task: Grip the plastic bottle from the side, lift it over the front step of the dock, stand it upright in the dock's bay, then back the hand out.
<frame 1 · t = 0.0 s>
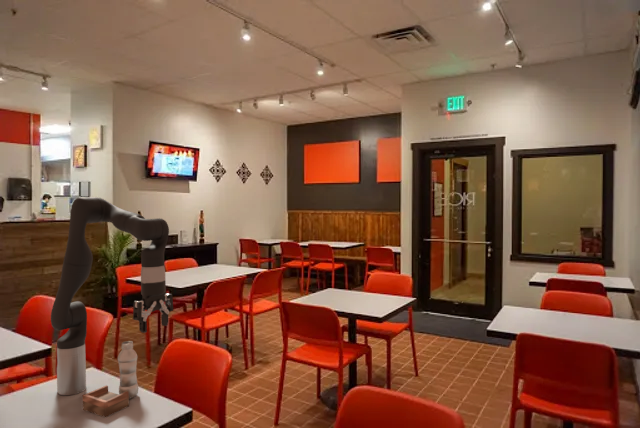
hand: (154, 328, 144), 29 cm above the table, tool pointing down, fingers open, 8 cm apart
dock: (106, 407, 152), on the table
plastic bottle: (128, 397, 160), on the table
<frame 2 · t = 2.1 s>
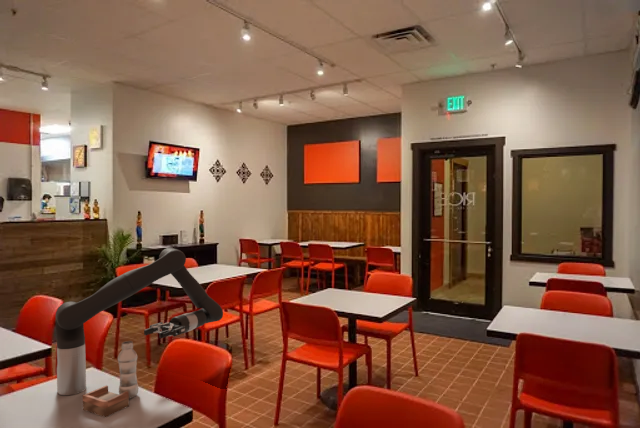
hand: (152, 334, 169), 20 cm above the table, tool horizontal, fingers open, 8 cm apart
nothing on the table moved.
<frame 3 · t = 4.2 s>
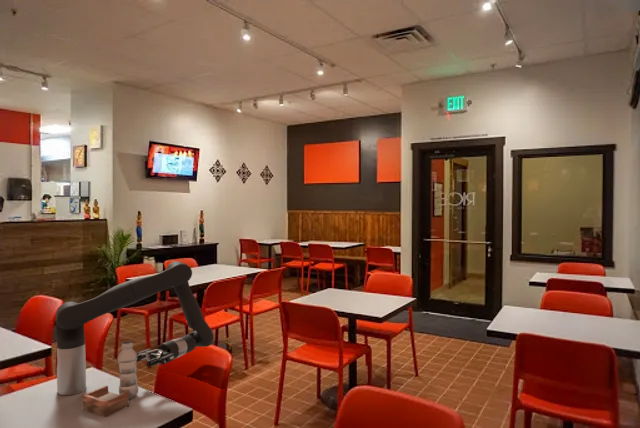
hand: (139, 362, 164), 11 cm above the table, tool horizontal, fingers open, 8 cm apart
nothing on the table moved.
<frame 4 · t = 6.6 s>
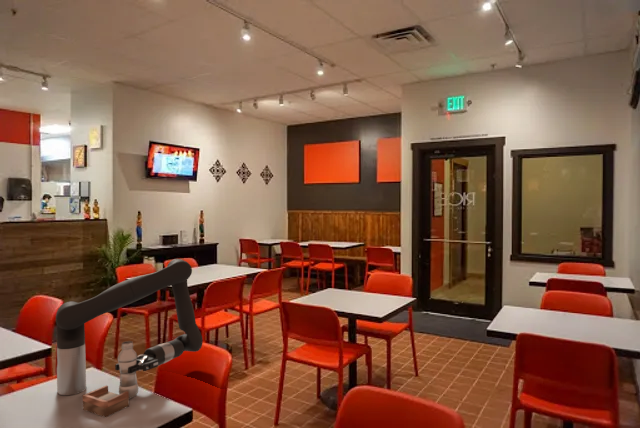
hand: (122, 369, 157), 11 cm above the table, tool horizontal, fingers closed on plastic bottle, 6 cm apart
plastic bottle: (128, 397, 160), on the table, touching gripper
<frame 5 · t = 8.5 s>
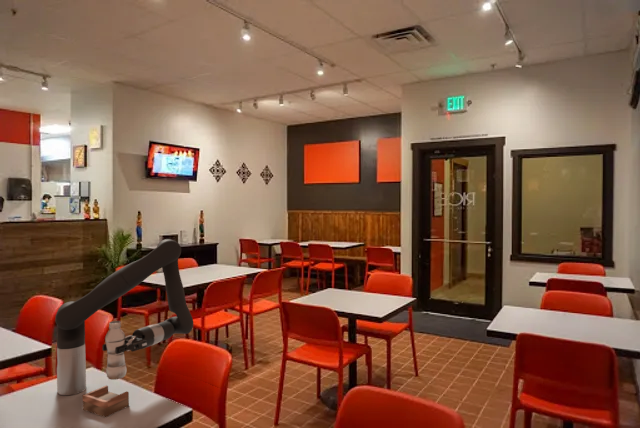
hand: (109, 349, 153), 20 cm above the table, tool horizontal, fingers closed on plastic bottle, 6 cm apart
plastic bottle: (116, 378, 155), point 8 cm above the table, touching gripper
when the fingers open (15 cm above the table, at t = 10.9 s): plastic bottle stays where it is, resting on dock.
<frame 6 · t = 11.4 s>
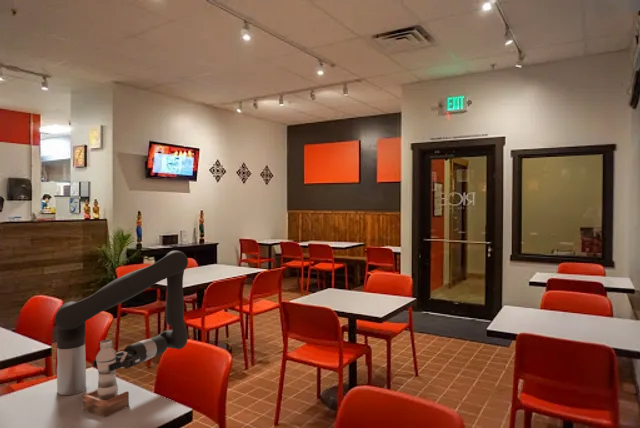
hand: (101, 366, 150), 15 cm above the table, tool horizontal, fingers open, 8 cm apart
plastic bottle: (107, 399, 152), point 3 cm above the table, touching dock
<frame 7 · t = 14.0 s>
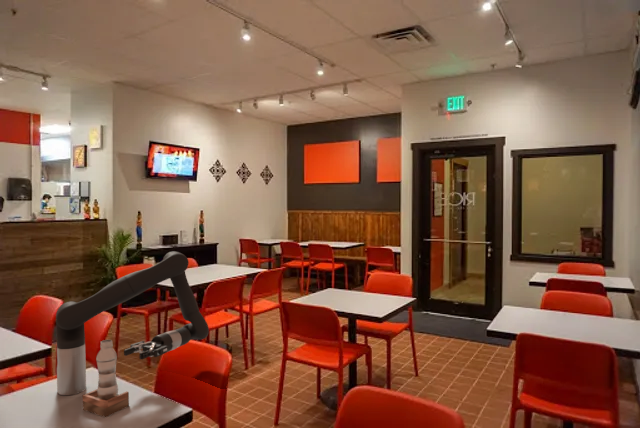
hand: (132, 354, 161), 15 cm above the table, tool horizontal, fingers open, 8 cm apart
nothing on the table moved.
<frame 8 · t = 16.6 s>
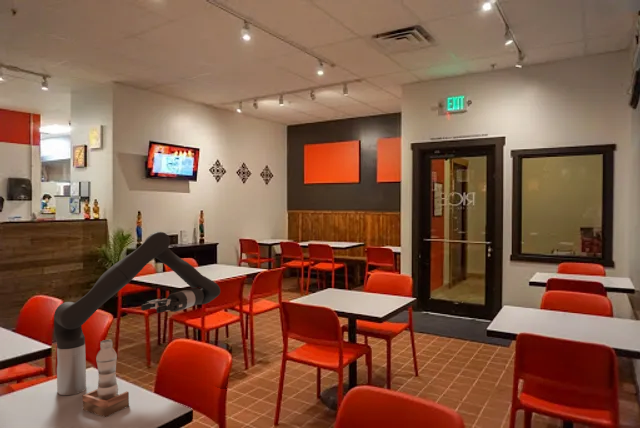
hand: (149, 309, 168), 30 cm above the table, tool horizontal, fingers open, 8 cm apart
nothing on the table moved.
at the end: plastic bottle 0.3 cm off-centre on the dock, point 2.8 cm above the dock's base; plastic bottle tilted 0°; the gripper is holding nothing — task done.
